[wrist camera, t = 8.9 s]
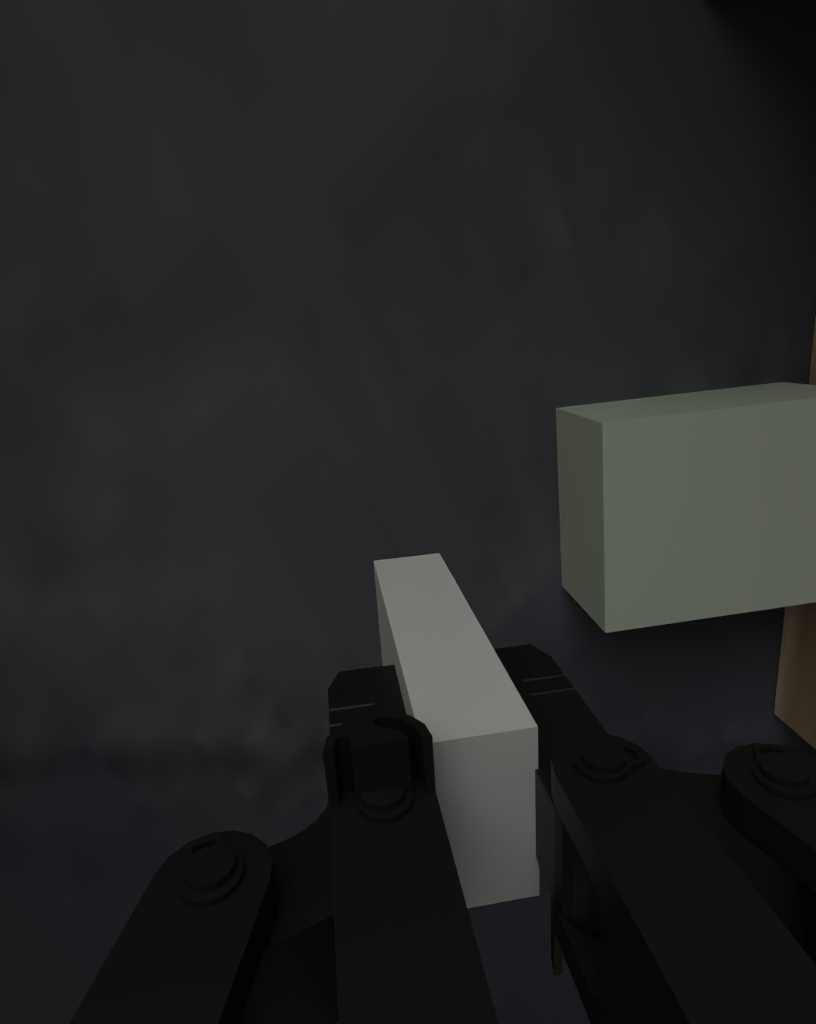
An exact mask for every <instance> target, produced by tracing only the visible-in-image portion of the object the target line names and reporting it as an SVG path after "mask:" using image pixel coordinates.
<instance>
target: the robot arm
mask: <svg viewBox="0 0 816 1024" xmlns="http://www.w3.org/2000/svg"><path fill="white" fill-rule="evenodd" d="M374 572H375V583H376V595H377V606H378V618H379V629H380V641H381V652H382V663H383V666H379V667H372V668H364V669H357V670H349V671H342V672H339V673H338V674H337V676H336V678H335V679H334V681H333V682H332V684H331V685H330V687H329V689H328V700H329V724H330V735H329V736H328V737H327V739H326V742H325V746H324V750H323V757H324V765H325V774H326V782H327V790H328V798H329V802H328V805H327V807H326V809H325V810H324V811H323V813H322V814H321V815H320V816H319V818H318V819H317V820H316V821H315V822H314V823H312V824H311V825H310V826H309V827H307V828H306V829H305V830H304V831H302V832H300V833H298V834H296V835H294V836H293V837H291V838H289V839H287V840H284V841H282V842H280V843H277V844H275V845H273V846H271V847H268V848H267V845H266V844H265V843H264V842H262V841H261V840H260V839H258V838H257V837H256V836H254V835H253V834H249V833H244V832H239V831H234V830H232V831H224V832H217V833H210V834H208V835H206V836H203V837H201V838H198V839H196V840H193V841H191V842H188V843H187V844H186V845H184V846H183V847H182V848H180V849H179V850H178V851H176V852H175V853H173V854H172V855H171V856H169V857H168V858H167V860H166V861H165V862H164V863H163V865H162V866H161V867H160V868H159V870H158V871H157V872H156V873H155V875H154V876H153V878H152V880H151V881H150V883H149V885H148V887H147V888H146V890H145V892H144V894H143V895H142V897H141V899H140V901H139V902H138V904H137V906H136V908H135V909H134V911H133V913H132V915H131V916H130V918H129V920H128V922H127V923H126V925H125V927H124V929H123V930H122V932H121V934H120V936H119V938H118V939H117V941H116V943H115V945H114V946H113V948H112V950H111V952H110V953H109V955H108V957H107V959H106V960H105V962H104V964H103V966H102V967H101V969H100V971H99V973H98V974H97V976H96V978H95V980H94V981H93V983H92V985H91V987H90V988H89V990H88V992H87V994H86V996H85V997H84V999H83V1001H82V1003H81V1004H80V1006H79V1008H78V1010H77V1011H76V1013H75V1015H74V1017H73V1018H72V1020H71V1022H70V1024H335V1023H337V1022H338V1024H498V1020H497V1016H496V1013H495V1009H494V1005H493V1001H492V998H491V994H490V990H489V987H488V983H487V979H486V976H485V972H484V968H483V964H482V961H481V957H480V953H479V950H478V946H477V942H476V939H475V935H474V931H473V927H472V924H471V920H470V916H469V913H468V909H467V908H472V907H477V906H483V905H488V904H494V903H499V902H505V901H510V900H516V899H521V898H527V897H532V896H538V895H539V865H540V868H541V870H542V872H543V875H544V877H545V879H546V882H547V884H548V886H549V889H550V891H551V960H552V966H553V972H554V975H560V974H562V952H563V955H564V957H565V960H566V962H567V965H568V967H569V970H570V972H571V975H572V977H573V980H574V983H575V985H576V988H577V990H578V993H579V995H580V998H581V1000H582V1003H583V1005H584V1008H585V1010H586V1013H587V1015H588V1018H589V1020H590V1023H591V1024H816V759H815V758H813V757H811V756H809V755H807V754H805V753H803V752H800V751H797V750H794V749H790V748H786V747H783V746H779V745H772V744H758V743H754V744H749V745H744V746H738V747H736V748H735V749H733V750H732V751H731V752H729V753H728V754H726V757H725V760H724V763H723V768H722V775H712V774H699V773H686V772H677V771H670V770H664V769H660V767H659V766H658V765H657V763H656V762H655V761H654V760H653V758H652V757H651V756H650V755H648V754H647V753H646V752H645V751H644V750H643V749H642V748H640V747H639V746H638V745H636V744H634V743H632V742H630V741H627V740H625V739H623V738H621V737H616V736H612V735H608V734H607V732H606V731H605V729H604V728H603V727H602V725H601V724H600V723H599V721H598V720H597V719H596V717H595V716H594V714H593V713H592V712H591V710H590V709H589V708H588V706H587V705H586V703H585V702H584V701H583V699H582V698H581V697H580V695H579V694H578V693H577V691H576V690H573V686H572V684H571V683H570V682H569V680H568V679H567V678H566V676H563V672H562V671H561V669H560V668H559V667H558V665H557V664H556V663H555V661H554V660H553V658H552V657H551V656H549V655H548V654H546V653H544V652H542V651H541V650H539V649H537V648H536V647H534V646H532V645H531V644H529V645H521V646H514V647H506V648H499V649H493V647H492V645H491V643H490V642H489V640H488V638H487V636H486V635H485V633H484V631H483V629H482V628H481V626H480V624H479V622H478V621H477V619H476V617H475V615H474V613H473V612H472V610H471V608H470V606H469V605H468V603H467V601H466V599H465V598H464V596H463V594H462V592H461V591H460V589H459V587H458V585H457V584H456V582H455V580H454V578H453V577H452V575H451V573H450V571H449V569H448V568H447V566H446V564H445V562H444V561H443V559H442V557H441V555H440V554H439V553H438V554H429V555H421V556H412V557H403V558H394V559H385V560H376V561H374Z"/></svg>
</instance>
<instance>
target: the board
mask: <svg viewBox="0 0 816 1024" xmlns="http://www.w3.org/2000/svg"><path fill="white" fill-rule="evenodd" d="M809 385H816V318H815V328H814V337H813V347H812V356H811V366H810V375H809ZM774 714H775V715H776V716H777V717H779V718H780V719H781V720H782V721H783V722H784V723H786V724H787V725H788V726H789V727H790V728H791V729H793V730H794V731H795V732H796V733H797V734H798V735H800V736H801V737H802V738H803V739H804V740H805V741H807V742H808V743H809V744H810V745H811V746H812V747H814V748H815V749H816V602H814V603H807V604H800V605H793V606H787V607H785V613H784V622H783V632H782V641H781V651H780V660H779V670H778V679H777V689H776V698H775V708H774Z"/></svg>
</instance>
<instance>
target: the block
mask: <svg viewBox="0 0 816 1024" xmlns="http://www.w3.org/2000/svg"><path fill="white" fill-rule="evenodd" d="M556 426H557V455H558V484H559V512H560V541H561V569H562V586H563V587H564V588H565V589H566V591H567V592H568V593H569V594H570V595H571V596H572V597H573V598H574V599H575V600H576V601H577V603H578V604H579V605H580V606H581V607H582V608H583V609H584V610H585V611H586V612H587V613H588V615H589V616H590V617H591V618H592V619H593V620H594V621H595V622H596V623H597V624H598V625H599V627H600V628H601V629H602V630H603V631H604V632H605V633H608V632H615V631H622V630H629V629H636V628H643V627H650V626H656V625H663V624H670V623H677V622H684V621H691V620H697V619H704V618H711V617H718V616H725V615H732V614H739V613H745V612H752V611H759V610H766V609H773V608H780V607H787V606H793V605H800V604H807V603H814V602H816V385H808V384H797V383H787V382H778V383H769V384H761V385H752V386H743V387H735V388H726V389H717V390H709V391H700V392H691V393H683V394H674V395H665V396H657V397H648V398H639V399H631V400H622V401H613V402H605V403H596V404H587V405H579V406H570V407H562V408H556Z"/></svg>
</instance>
